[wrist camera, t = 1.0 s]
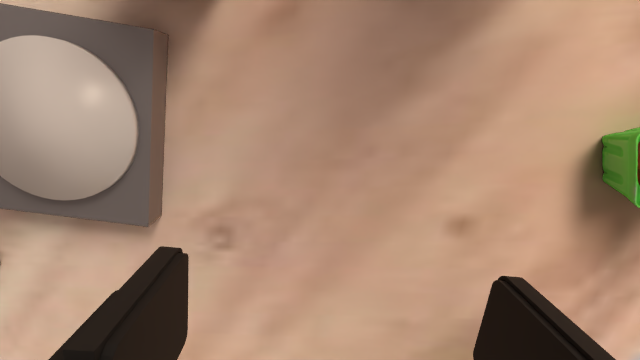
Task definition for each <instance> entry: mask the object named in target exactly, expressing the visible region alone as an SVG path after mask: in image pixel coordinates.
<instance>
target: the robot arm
mask: <svg viewBox="0 0 640 360" xmlns="http://www.w3.org/2000/svg"><path fill="white" fill-rule="evenodd" d="M187 330H188V254H185V253H183V252H182V249H181V248H173V247H159V248H158V249H157V250H156V251H155V252H154V253H153V254H152V255H151V256H150V258H149V259H148V260H147V261H146V262H145V263H144V264H143V265H142V266H141V267H140V268H139V269H138V270H137V271H136V272H135V273H134V274H133V276H132V277H131V278H130V279H129V280H128V281H127V282H126V283H125V284H124V285H123V286H122V287H121V288H120V289H119V290H117V291H115V292H114V293H112V294H111V295H110V296H109V297H108V298H107V299H106V300H105V302H104V303H103V304H102V305H101V306H100V307H99V308H98V309H97V310H96V311H95V312H94V313H93V314H92V315H91V316H90V317H89V318H88V319H87V320H86V321H85V322H84V323H83V324H82V325H81V326H80V328H79V329H78V330H77V331H76V332H75V333H74V334H73V335H72V336H71V337H70V338H69V339H68V340H67V341H66V342H65V343H64V344H63V345H62V346H61V347H60V348H59V349H58V350H57V351H56V352H55V354H54V355H53V356H52V357H51V358H50V359H49V360H177V359H178V357H179V355H180V353H181V350H182V348H183V346H184V344H185V341H186V337H187ZM473 357H474V360H616V359H614V358H613V357H612V356H611V355H610V354H609V353H608V352H606V351H605V350H604V349H603V348H602V347H601V346H600V345H598V344H597V343H596V342H595V341H594V340H593V339H592V338H590V337H589V336H588V335H587V334H586V333H585V332H584V331H582V330H581V329H580V328H579V327H578V326H577V325H576V324H574V323H573V322H572V321H571V320H570V319H569V318H568V317H567V316H565V315H564V314H563V313H562V312H561V311H560V310H559V309H557V308H556V307H555V306H554V305H553V304H552V303H551V302H549V301H548V300H547V299H546V298H545V297H544V296H543V295H541V294H540V293H539V292H538V291H537V290H536V289H535V288H533V287H532V286H531V285H530V284H529V283H528V282H527V281H525V280H524V279H523V278H520V277H509V276H501V277H499V279H498V280H496V281H494V282H493V284H492V287H491V291H490V294H489V298H488V301H487V305H486V309H485V312H484V316H483V319H482V323H481V326H480V330H479V333H478V337H477V340H476V344H475V348H474V352H473Z"/></svg>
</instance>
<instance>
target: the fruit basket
mask: <svg viewBox="0 0 640 360" xmlns="http://www.w3.org/2000/svg"><path fill="white" fill-rule="evenodd" d="M602 143H603V145H604V147H603V150H602V167H603V170H604V174H603V181H604V182H605V183H607V184H608V185H610V186H611V187H612V188H614V189H615V190H617V191H618V192H620V193H621V194H623V195H624V196H626V197H627V198H628V199H629V201H631V202H632V203H633V204H634V205H636V206H637V207H638V208H640V127H639V128H635V129H630V130H627V131H624V132H620V133H614V134H609V135H605V136H603V137H602Z"/></svg>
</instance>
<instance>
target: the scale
mask: <svg viewBox="0 0 640 360" xmlns="http://www.w3.org/2000/svg"><path fill="white" fill-rule="evenodd" d="M167 54H168V35H166V34H164V33H161V32H159V31H157V30H154V29H149V28H143V27H137V26H131V25H125V24H119V23H113V22H107V21H102V20H96V19H90V18H84V17H78V16H72V15H66V14H60V13H54V12H48V11H42V10H36V9H30V8H24V7H18V6H13V5H7V4H1V3H0V208H1V209H9V210H17V211H25V212H33V213H41V214H49V215H57V216H65V217H73V218H81V219H89V220H97V221H106V222H114V223H122V224H130V225H138V226H146V227H149V226H150V225H151V224H152V223H154V222H155V221H156V220H157V219H158V218H159V217H161V215H162V188H163V161H164V135H165V108H166V81H167Z"/></svg>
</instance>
